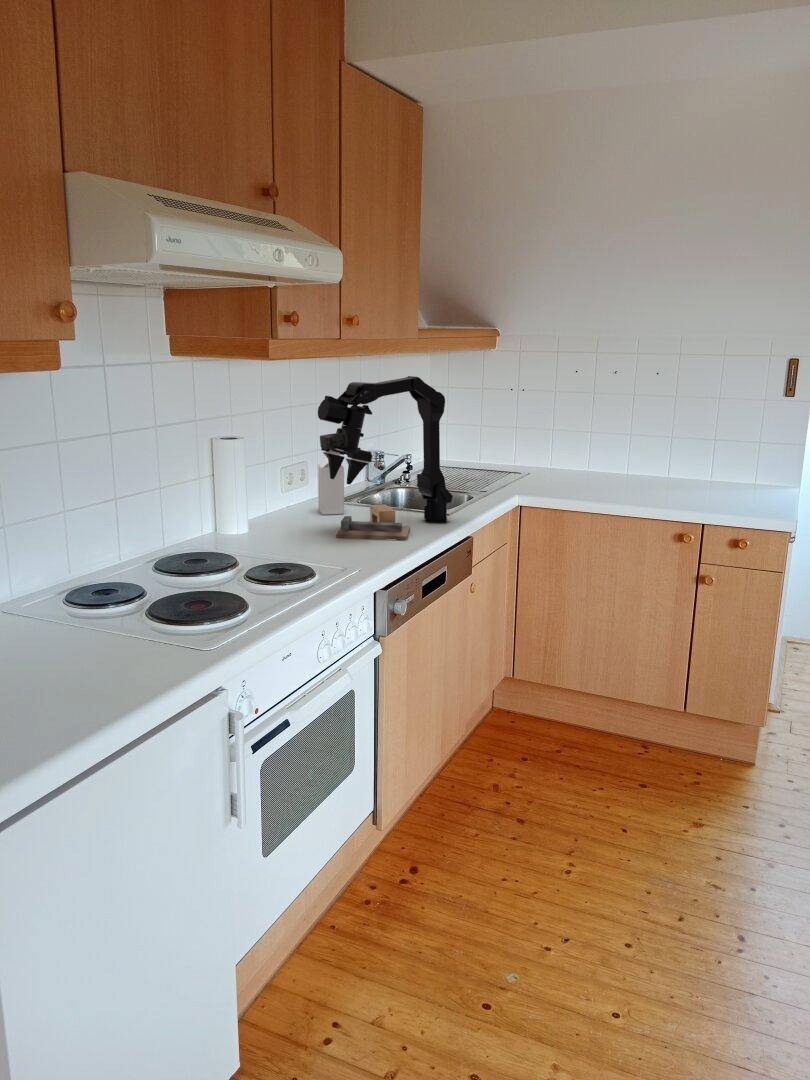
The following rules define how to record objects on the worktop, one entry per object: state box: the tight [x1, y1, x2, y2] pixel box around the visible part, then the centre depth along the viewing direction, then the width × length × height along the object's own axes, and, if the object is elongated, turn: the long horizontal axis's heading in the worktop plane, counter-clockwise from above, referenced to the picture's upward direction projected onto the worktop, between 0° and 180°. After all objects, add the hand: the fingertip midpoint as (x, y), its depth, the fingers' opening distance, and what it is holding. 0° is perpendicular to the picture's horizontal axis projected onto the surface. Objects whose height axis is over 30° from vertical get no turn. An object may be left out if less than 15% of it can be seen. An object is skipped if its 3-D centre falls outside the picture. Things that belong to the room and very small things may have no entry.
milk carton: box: [317, 456, 345, 516], centre depth 266 cm, size 7×7×19 cm
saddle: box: [369, 504, 396, 523], centre depth 254 cm, size 5×9×5 cm, turn 20°
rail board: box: [335, 515, 411, 541], centre depth 241 cm, size 20×12×4 cm, turn 85°
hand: (340, 481), depth 236 cm, fingers open, 9 cm apart
